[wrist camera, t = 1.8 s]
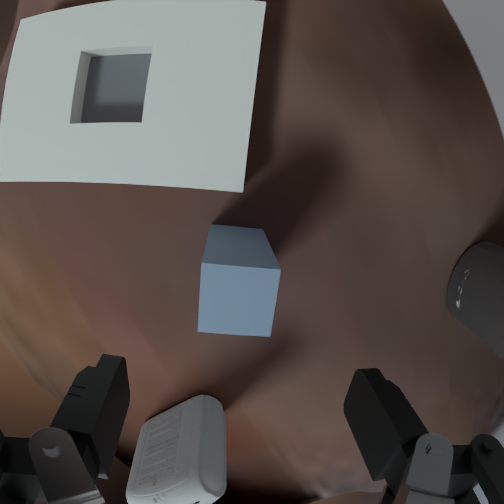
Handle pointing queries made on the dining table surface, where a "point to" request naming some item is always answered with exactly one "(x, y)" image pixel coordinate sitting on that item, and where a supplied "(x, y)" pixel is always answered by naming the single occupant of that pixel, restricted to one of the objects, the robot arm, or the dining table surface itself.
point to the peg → (238, 282)
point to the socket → (133, 94)
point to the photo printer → (181, 455)
